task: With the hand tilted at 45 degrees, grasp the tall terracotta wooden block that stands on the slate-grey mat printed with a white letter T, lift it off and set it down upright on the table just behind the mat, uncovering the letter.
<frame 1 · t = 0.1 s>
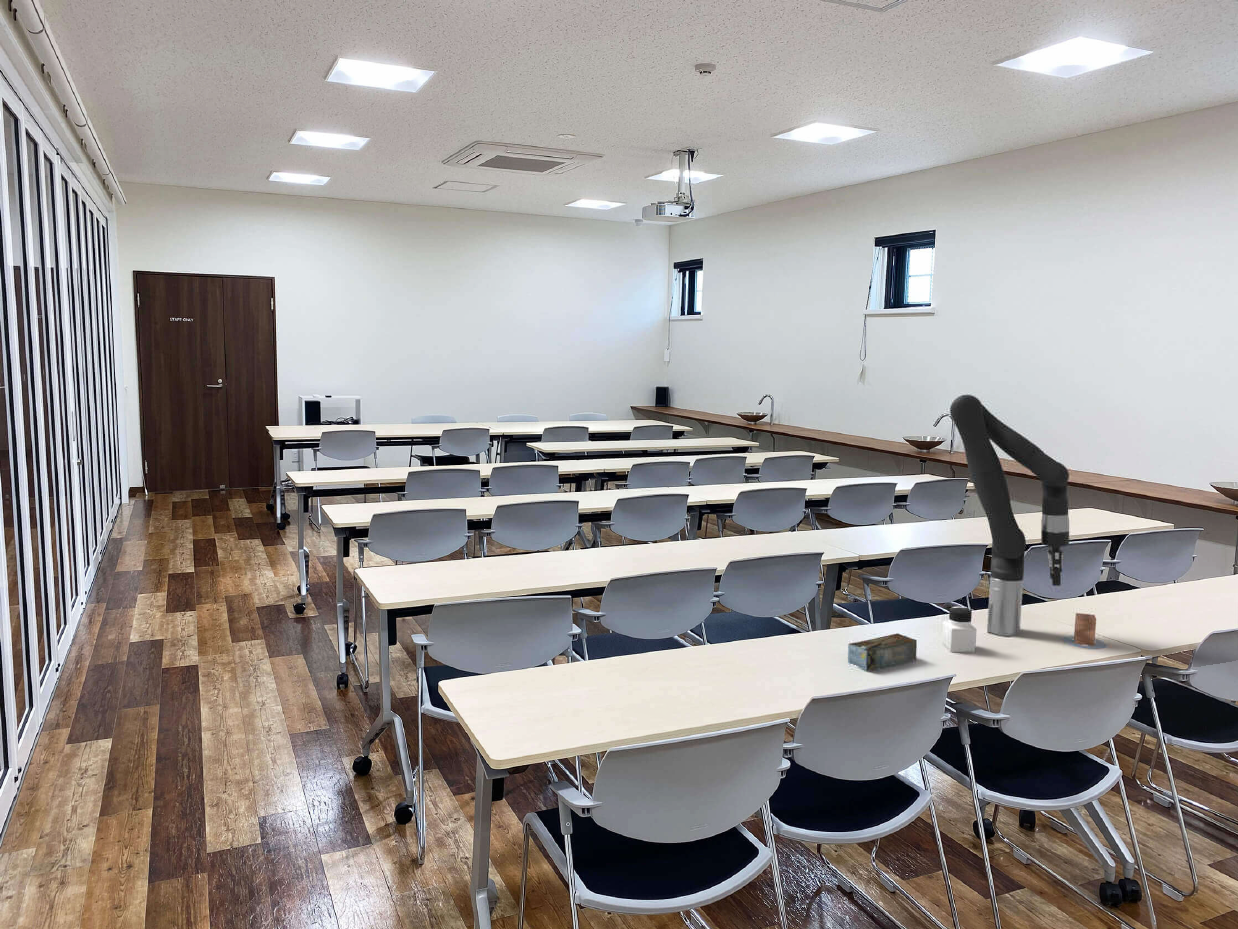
hand: (1055, 582, 262), 17 cm above the table, tool pointing down, fingers open, 8 cm apart
letter mat: (1083, 643, 260), on the table
beverage carton: (881, 663, 243), on the table
terracotta block: (1083, 642, 260), resting on letter mat
medicine bottle: (958, 649, 255), on the table
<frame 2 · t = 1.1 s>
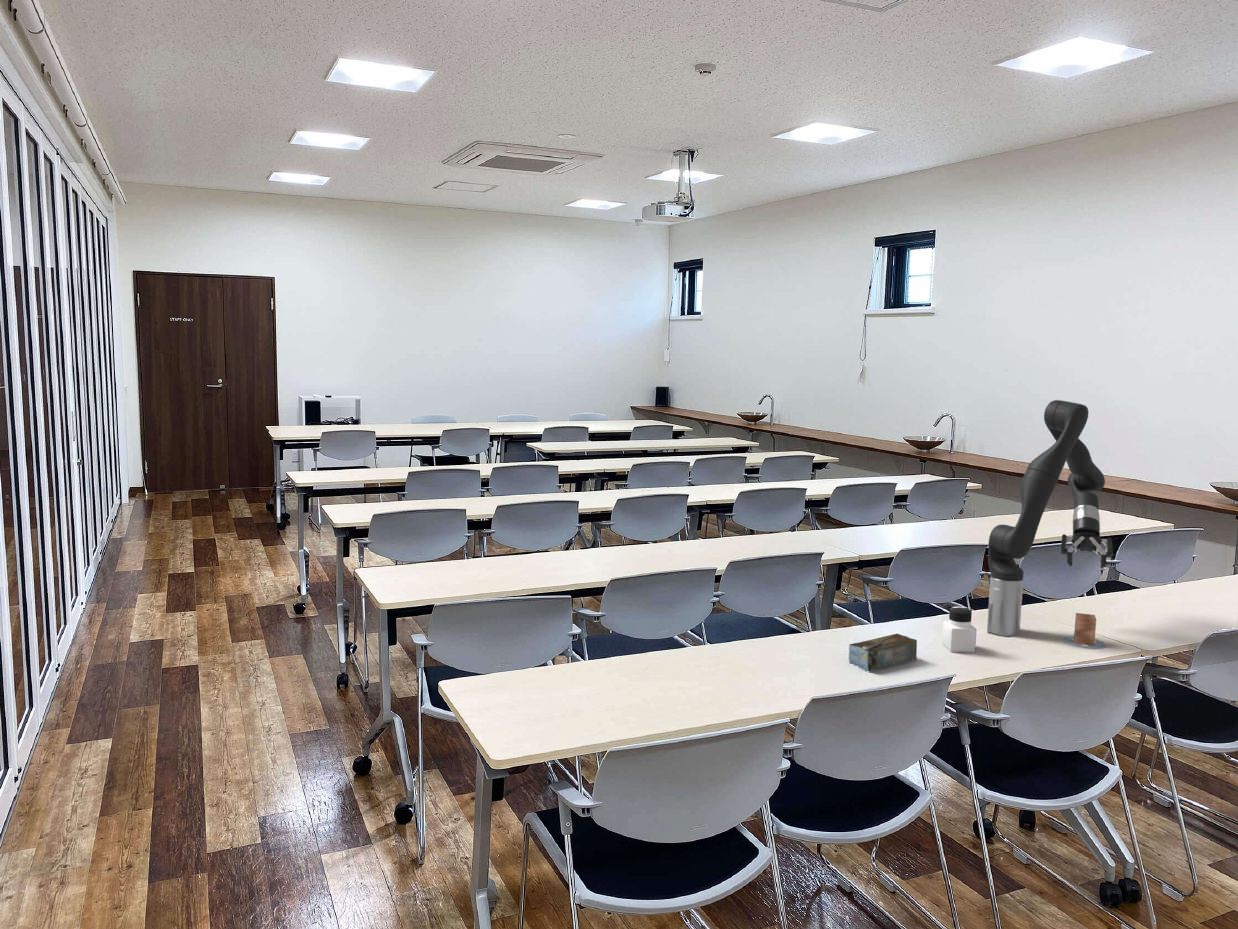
hand: (1086, 566, 268), 21 cm above the table, tool tilted 45°, fingers open, 8 cm apart
nothing on the table moved.
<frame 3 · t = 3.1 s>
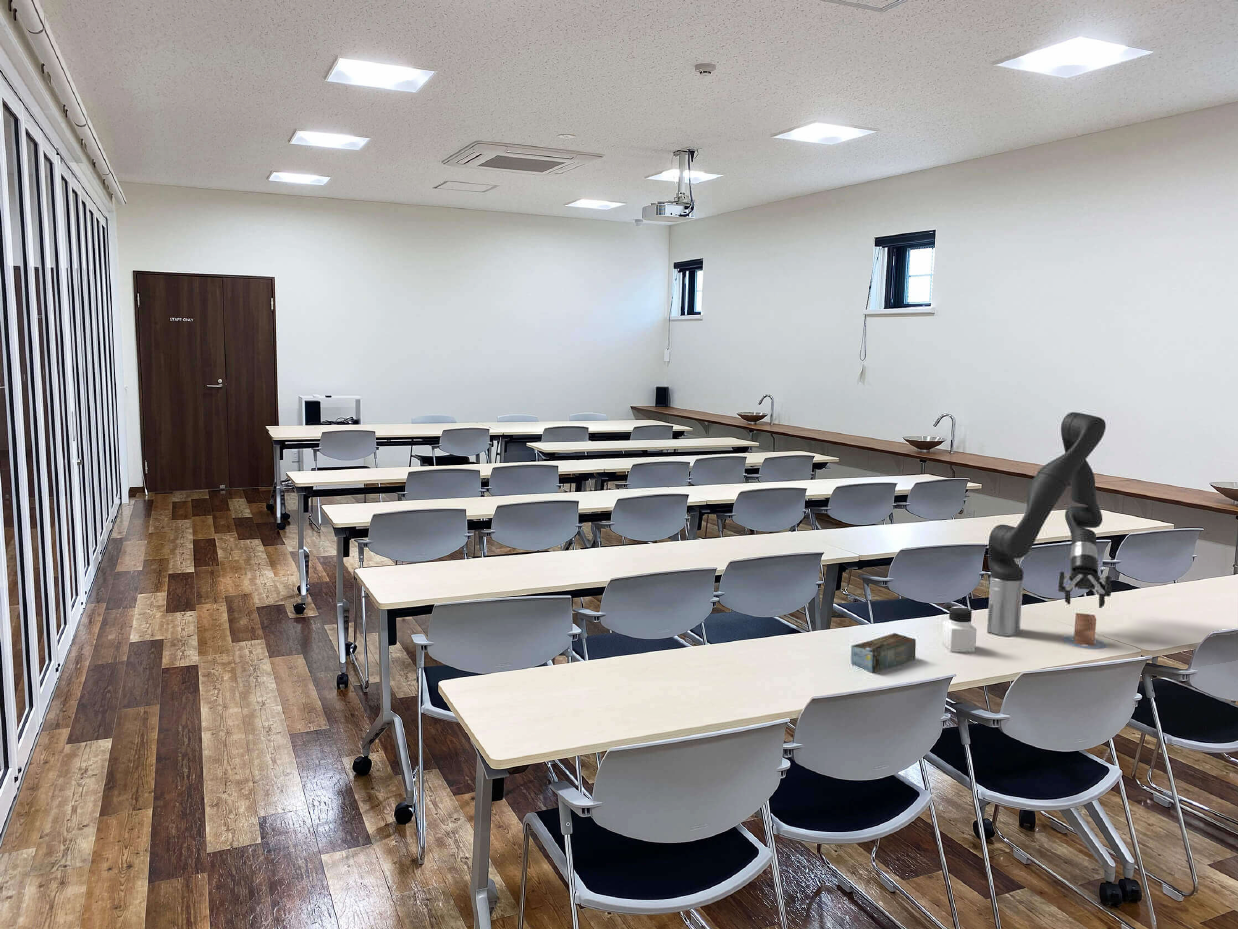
hand: (1084, 605, 264), 10 cm above the table, tool tilted 45°, fingers open, 8 cm apart
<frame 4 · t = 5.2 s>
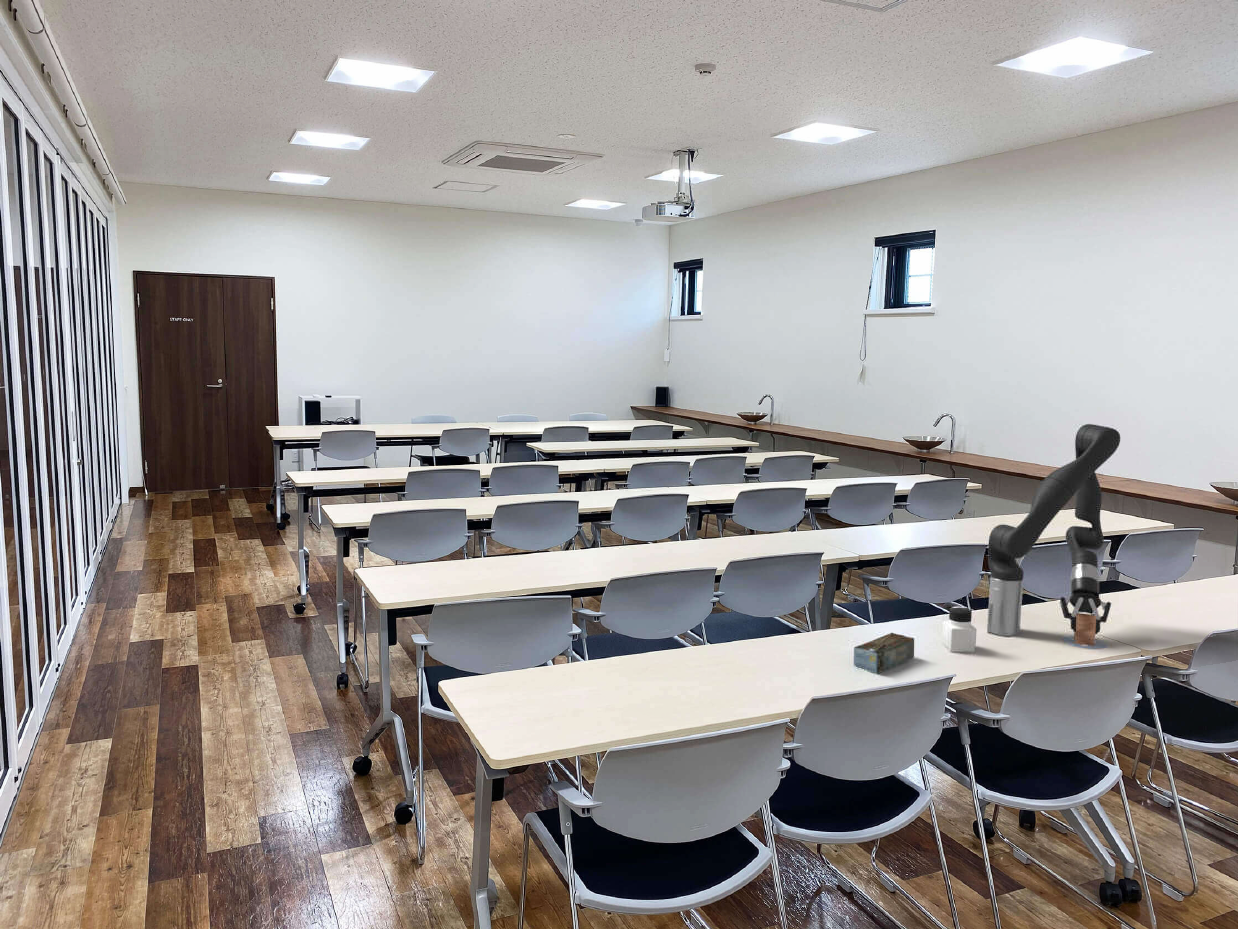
hand: (1085, 631, 257), 4 cm above the table, tool tilted 45°, fingers closed on terracotta block, 5 cm apart
terracotta block: (1083, 642, 260), resting on letter mat, touching gripper
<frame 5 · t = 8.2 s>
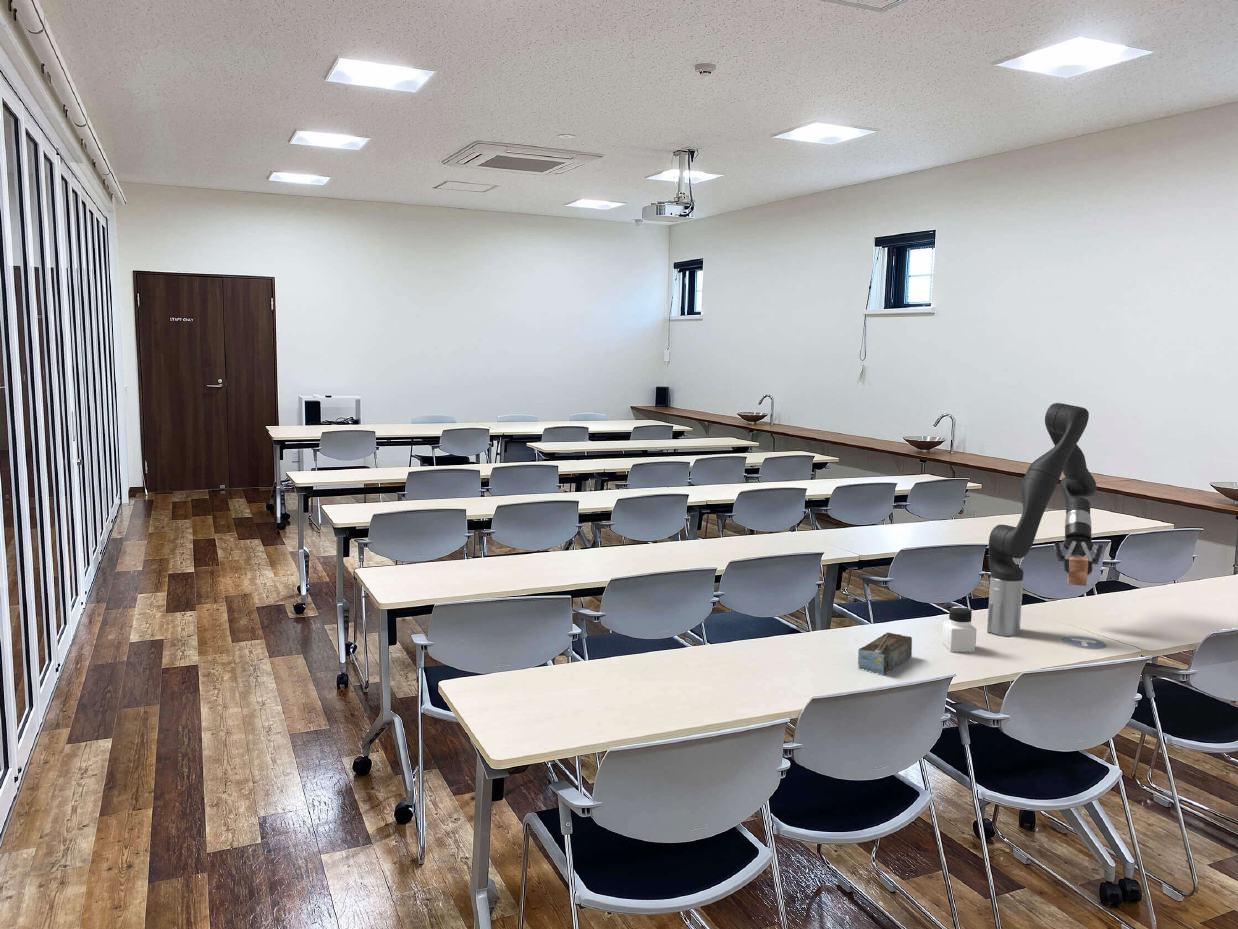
hand: (1078, 572, 270), 18 cm above the table, tool tilted 45°, fingers closed on terracotta block, 5 cm apart
terracotta block: (1076, 583, 272), point 14 cm above the table, touching gripper
when the fingers open (5 cm above the table, at t = 11.2 s): terracotta block drops 2 cm, on the table.
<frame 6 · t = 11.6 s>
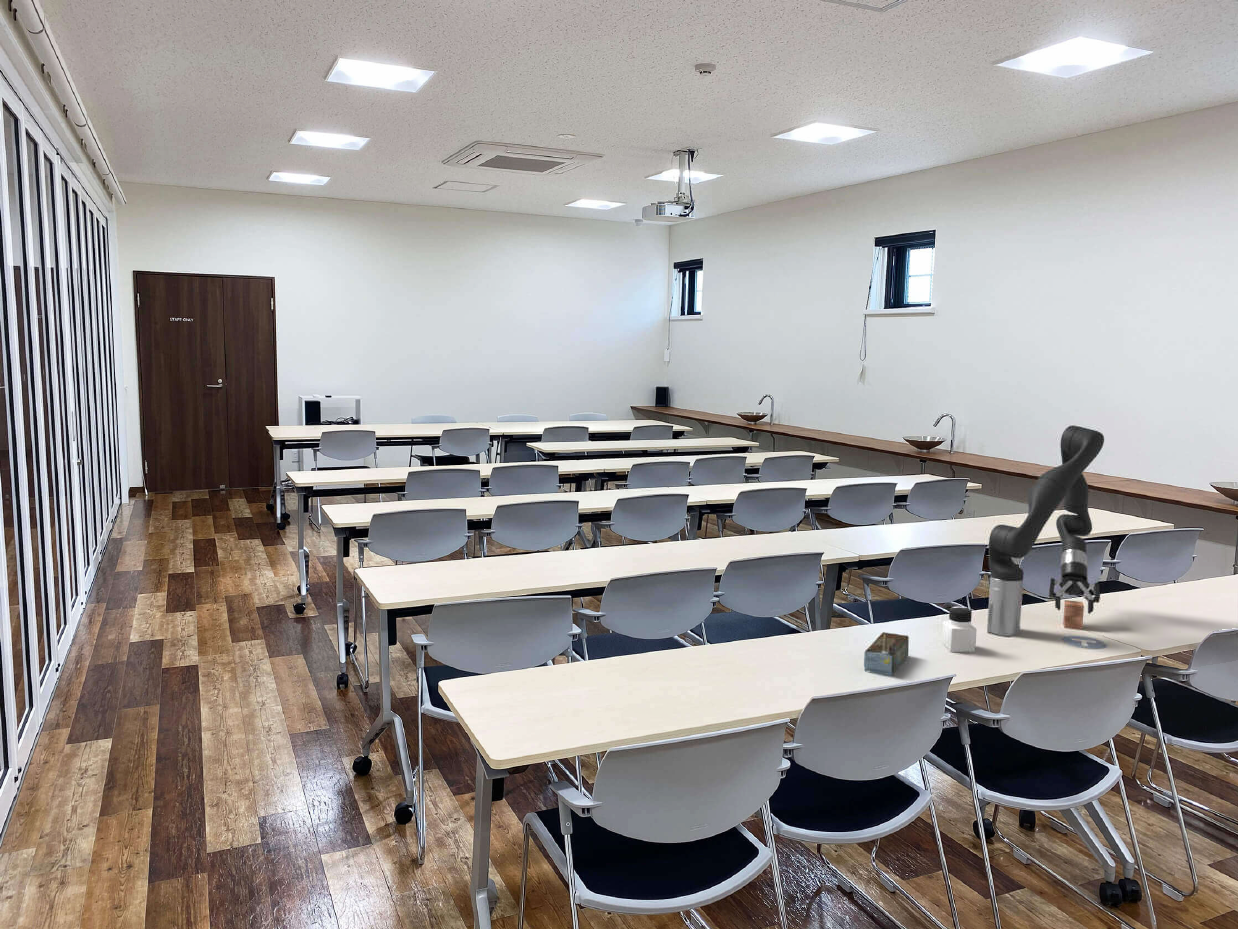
hand: (1074, 610, 273), 6 cm above the table, tool tilted 45°, fingers open, 8 cm apart
terracotta block: (1072, 627, 275), on the table
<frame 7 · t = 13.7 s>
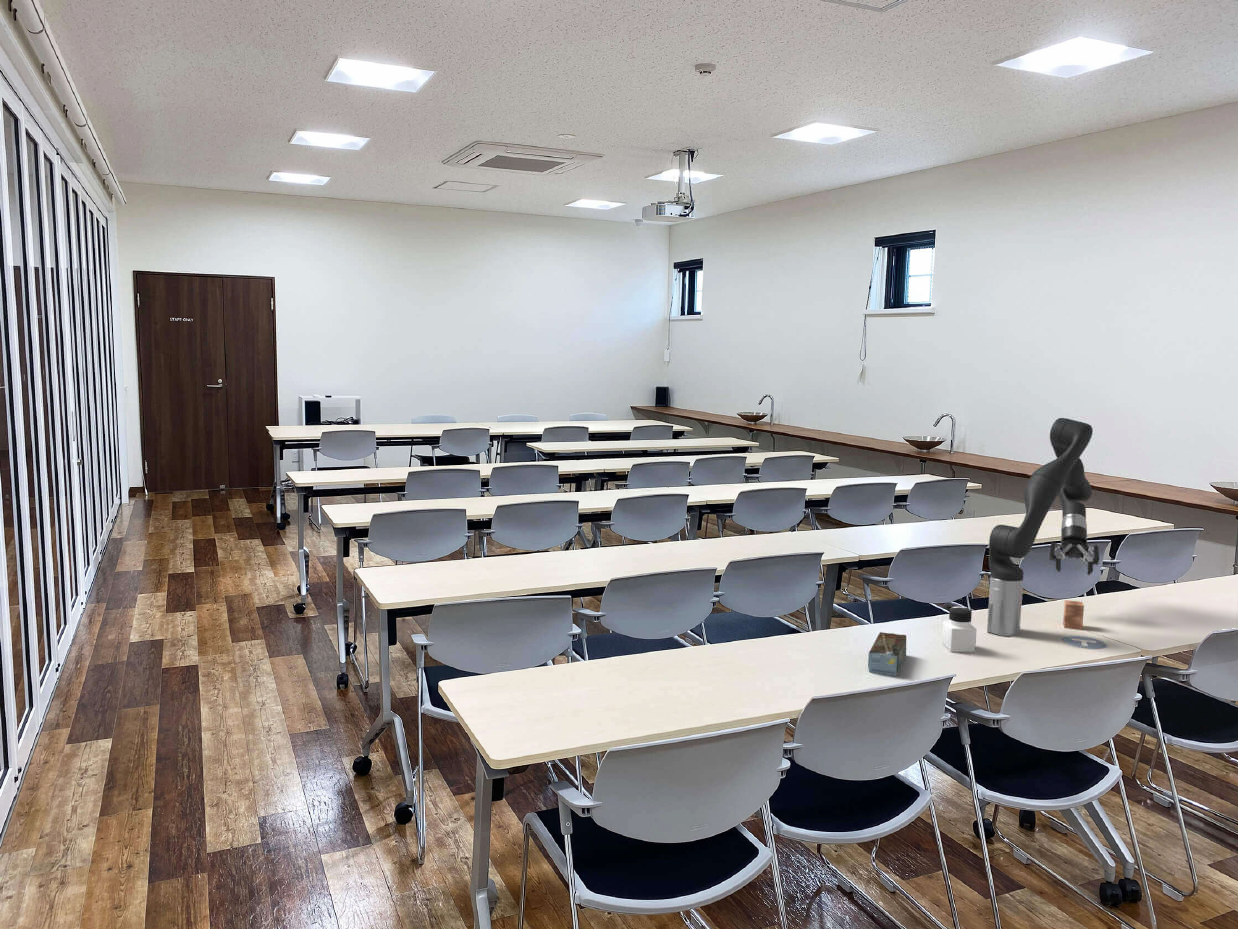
hand: (1074, 572, 280), 16 cm above the table, tool tilted 45°, fingers open, 8 cm apart
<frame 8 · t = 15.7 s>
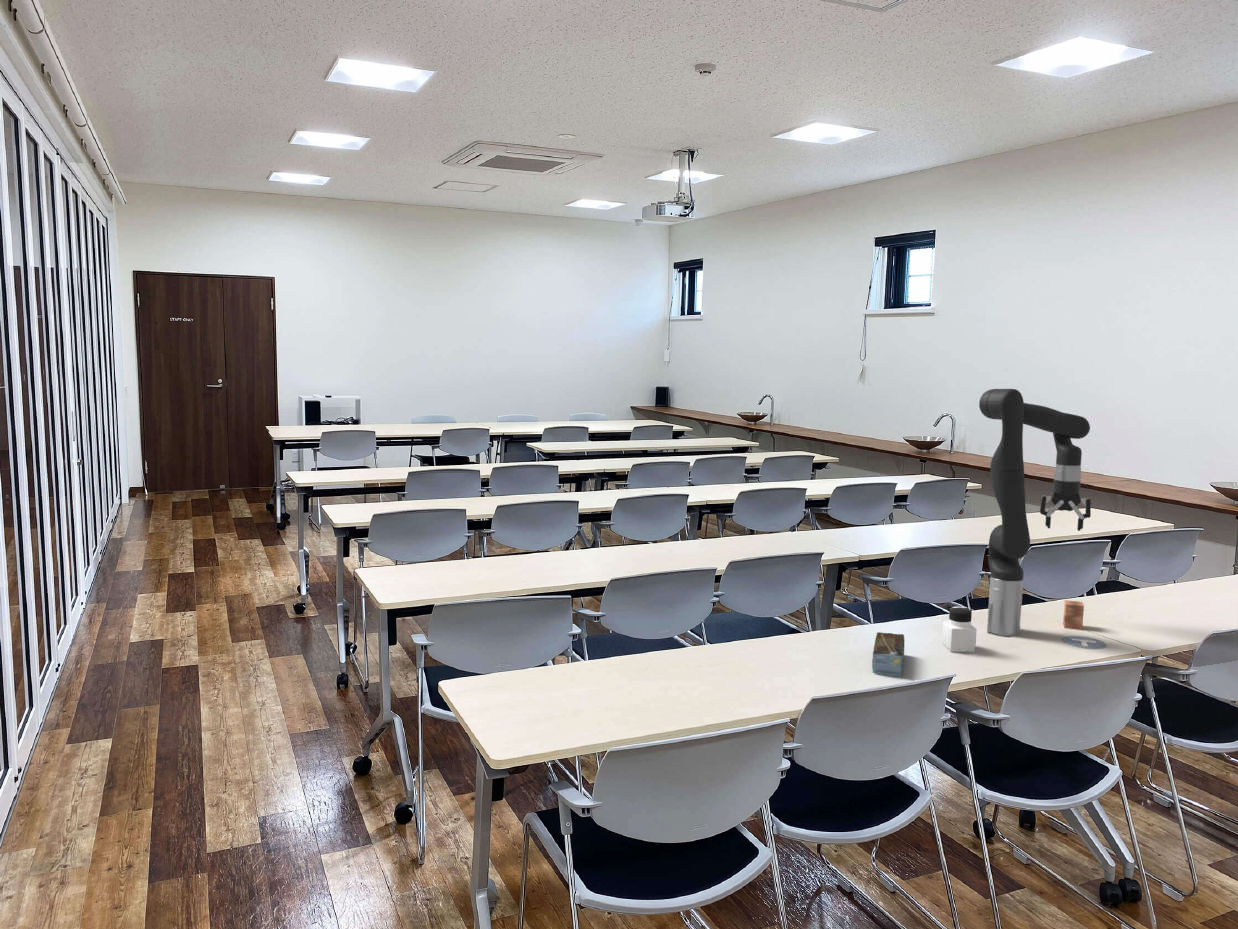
hand: (1063, 529, 278), 30 cm above the table, tool pointing down, fingers open, 8 cm apart
at the end: terracotta block touching table; terracotta block inside the target area on the table beside the letter mat (0.0 cm from its centre), on the table; terracotta block tilted 0° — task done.
